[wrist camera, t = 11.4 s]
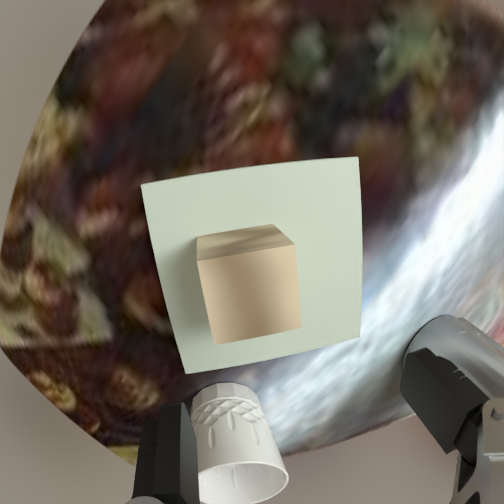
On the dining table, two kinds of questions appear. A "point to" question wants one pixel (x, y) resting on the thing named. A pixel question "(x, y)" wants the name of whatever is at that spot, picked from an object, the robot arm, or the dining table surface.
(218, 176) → the sage board
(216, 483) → the white cup
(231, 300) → the beech cube
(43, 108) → the dining table surface
